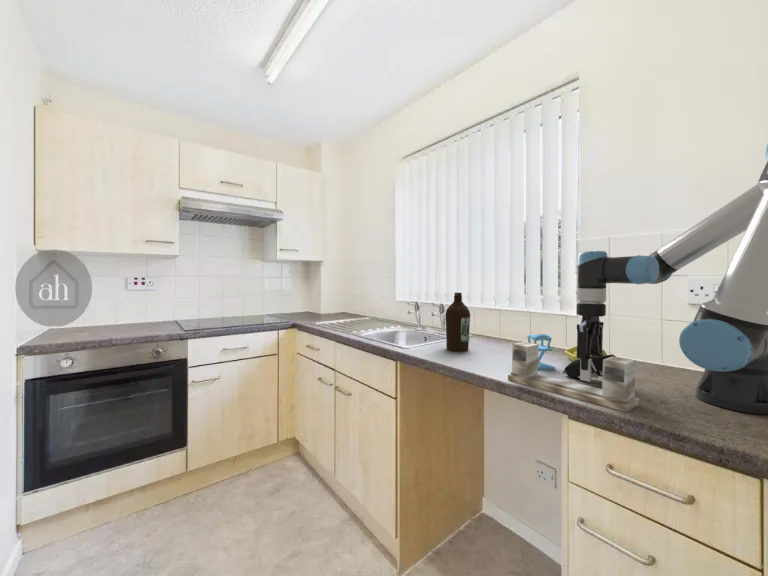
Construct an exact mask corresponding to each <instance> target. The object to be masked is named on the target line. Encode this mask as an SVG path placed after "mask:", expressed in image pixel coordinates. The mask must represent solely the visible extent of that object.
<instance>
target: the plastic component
mask: <svg viewBox="0 0 768 576" xmlns="http://www.w3.org/2000/svg"><path fill="white" fill-rule="evenodd" d="M564 352H565V354H566V356H567V358H568V359H569V360H571V361H572V362H574V360H577V359H580V358H577V345H575V346H572V347H570V348H568V349H566V350H565V351H564ZM600 354H601V353H600ZM602 354H603V356H606V355H608V354H607V353H606V351H605V349H602ZM590 356H592V355H590Z"/></svg>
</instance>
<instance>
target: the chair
mask: <svg viewBox="0 0 768 576" xmlns="http://www.w3.org/2000/svg"><path fill="white" fill-rule="evenodd" d="M526 338H527V341H528V342H527V343H532V341H531V339H532V340H533V341H534V342H533V344H538V342H539V341H540V344H538V352H540V354H538V371H539V370H542V371H546V370H547V371H550V370H553V371H554V370H556V366H554V365H551V364H548V363H543V362H540V361H541V359H542V358H543V356H544V354H545V353H546V352H553V351H554V350H553V348H552V347H551V342H552V339H553V338H552V337H551V336H550V335H548V334H546V333H545V334H544V333H540V334H534V333H531V334H529V335H527V336H526ZM544 341H545V342H546V341H548V342H547V345H545V344H544Z"/></svg>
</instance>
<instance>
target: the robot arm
mask: <svg viewBox="0 0 768 576" xmlns="http://www.w3.org/2000/svg"><path fill="white" fill-rule="evenodd" d="M765 159H766V164H765V165H764V168H763V170H762V172H761V174H760V177H759V178H758V180H757V183H756V185H754V186H753V187H750V188H749V189H748V190H747V191H745V192H743V193H742V194H740V195H739V196H737V197H735V198H734V199H733V200H731V201H729V202H728V203H727V204H725V205H723V206H722V207H720V208H719V209H717V210H716V211H714V212H713V213H711V214H710V215H708V216H707V217H704V219H702V220H700V221H699V222H698V223H696V224H694V225H693V226H692V227H689V228H688V229H687V230H686V231H683V232H682V233H681V234H679V235H678V236H676V237H675V238H673V239H672V240H670V241H669V242H667V243H666V244H663V245H662V246H661V247H659V248H657V250H654V252H652V253H651V254H649V255H641V254H640V255H629V256H617V257H616V256H615V257H610V256H608V253H607V252H606V251H603V250H593V251H591V250H590V251H589V250H587V251H581V252H580V253H579V254H578V255H577V256H578V257H577V265H576V268H577V284H576V285H577V288H576V291H575V294H576V301H578V302H577V303H576V315H578V316H581V317H582V318H581V323H580V324H576V330H577V332H576V333H577V334H576V337H577V338H576V339H577V340H576V346H577V358H580V377H579V380H580V381H585V382H589V383H590V382H592V378H593V379H599V378H600V376H598V375H597V374H596V373H591V360H590V355H592V356H603V354H602V350H603V340H604V339H603V337H604V336H603V335H604V334H603V333H604V324H605V323H604V321H600V317H605V316H606V315H607V314H606V313H607V305H606V304H605V303H606V302H607V284H628V285H629V284H631V285H632V284H635V285H644V284H649V285H650V284H651V285H657V284H661V283H664V282H666V281H668V280H669V279H670V278H671V276H672V275H673V274H675V273H676V272H677V271H679V270H681V269H682V268H684V267H686V266H687V265H690V264H691V263H692V262H694V261H696V260H697V259H700V258H701V257H703V256H705V255H706V254H708V253H709V252H712V251H713V250H714V249H716V248H718V247H720V246H721V245H723V244H725V243H727V242H729V241H730V240H732V239H733V238H735V237H737V236H739V235H740V234H742V233H743V232H744V233H743V235H742V236H741V240H740V241H739V244H738V246H737V247H736V250H735V252H734V255H733V257H732V259H731V261H730V263H729V265H728V267H727V269H726V272H725V273H724V276H723V278H722V280H721V281H720V284H719V286H718V288H717V290H716V292H715V295H714V297H713V298H712V299H710V300H708V301H705V302H703V303H701V304H700V306H699V308H698V310H697V312H696V314H695V317H694V319H693V321H692V322H690V323H688V324H687V325H686V326H685V327H684V328H682V330H681V332H680V334H679V340H678V341H679V342H678V343H679V347H680V349H681V352H682V353H683V355H684V356H685V358H687V359H688V361H690V362H691V363H693V364H694V365H695V366H698V367H699V368H702V369H704V371H703V373H702V375H701V377H700V379H699V381H698V383H697V385H696V387H695V397H696V398H698V400H700V401H702V402H705V403H708V404H710V405H713V406H717V407H720V408H723V409H728V410H732V411H737V412H741V413H742V412H743V413H749V414H756V415H766V416H767V415H768V143H767V144H766V148H765ZM600 353H601V354H600Z"/></svg>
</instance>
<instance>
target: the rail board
mask: <svg viewBox="0 0 768 576" xmlns="http://www.w3.org/2000/svg"><path fill="white" fill-rule="evenodd" d="M538 345H539V343H537V344H534V342H533V343H532V342H531V343H528V342H527V341H521V342H520V341H519V342H516V343H512V349H511V350H512V353H511V357H512V359H511V372H510V374H507V380H508V381H511V382H514V383H519V384H522V385H525V386H528V387H529V386H530V387H532V388H537V389H540V390H544V391H548V392H551V393H554V394H559V395H563V396H566V397H570V398H574V399H577V400H580V401H583V402H584V401H585V402H588V403H592V404H596V405H599V406H604V407H607V408H610V409H614V410H617V411H622V412H625V413H629V412H630V411H632V410H634V409H635V408H636V407H638V406H639V405H640V398H638V397H636V396H635V395H636V394H635V393H636V391H635V389H636V388H635V387H636V384H635V383H636V359H629V358H625V357H619V356H616V357H613V356H612V357H609V358H606V359H603V371H602V375H603V377H602V382H601V383H602V384H601V388H598V387H593V386H590V385H586V384H582V383H579V382H578V383H577V382H573V381H569V380H564V379H559V378H556V377H551V376H547V375H544V374H539V370H538V367H539V365H538V357H539V351H538Z"/></svg>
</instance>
